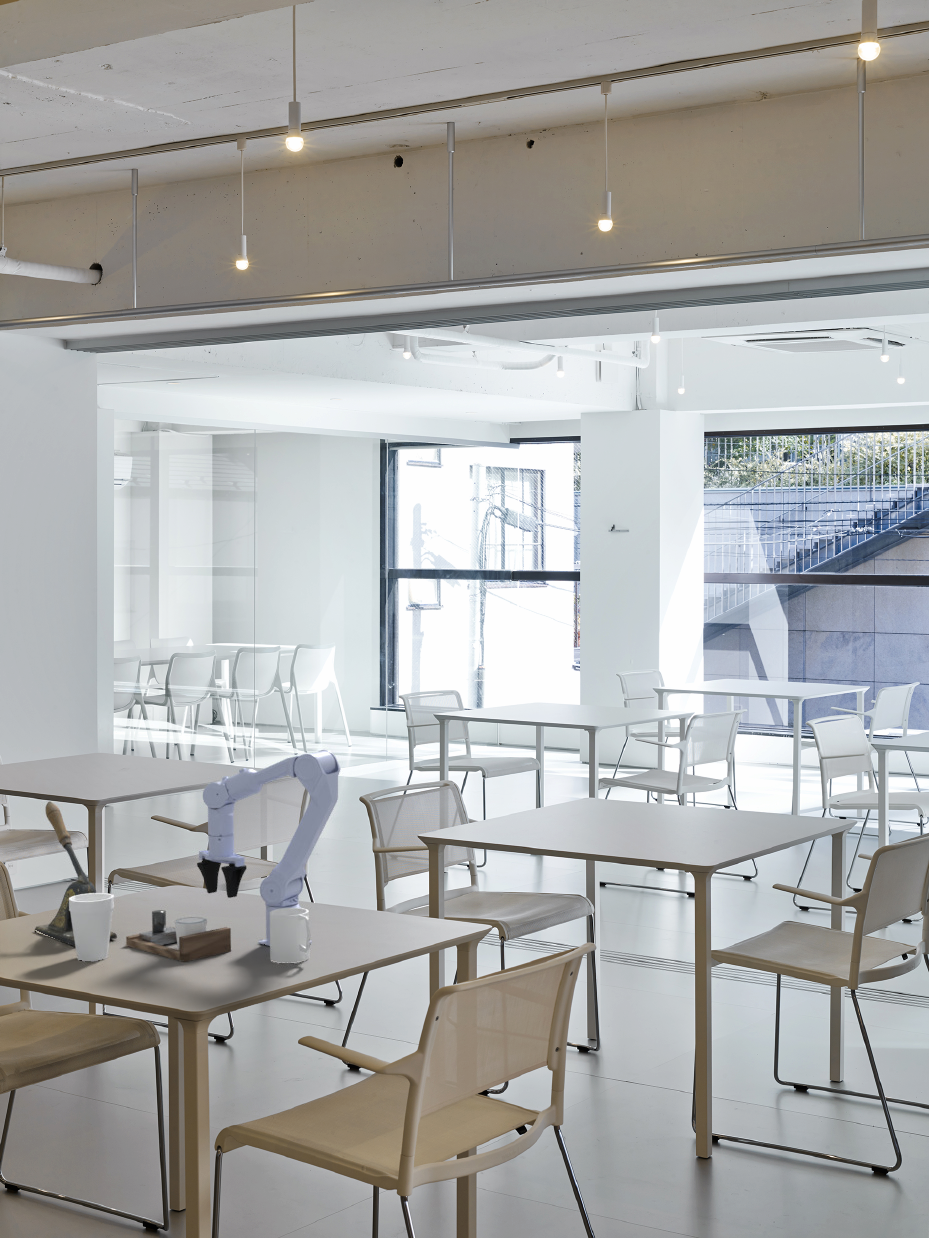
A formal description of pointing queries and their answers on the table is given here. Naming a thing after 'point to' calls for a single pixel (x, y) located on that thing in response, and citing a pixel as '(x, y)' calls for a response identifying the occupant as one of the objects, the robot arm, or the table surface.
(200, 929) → the white tapered cylinder
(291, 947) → the cup
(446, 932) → the table surface
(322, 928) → the table surface
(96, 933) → the foam cup
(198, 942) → the wooden tray
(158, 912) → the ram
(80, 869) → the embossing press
